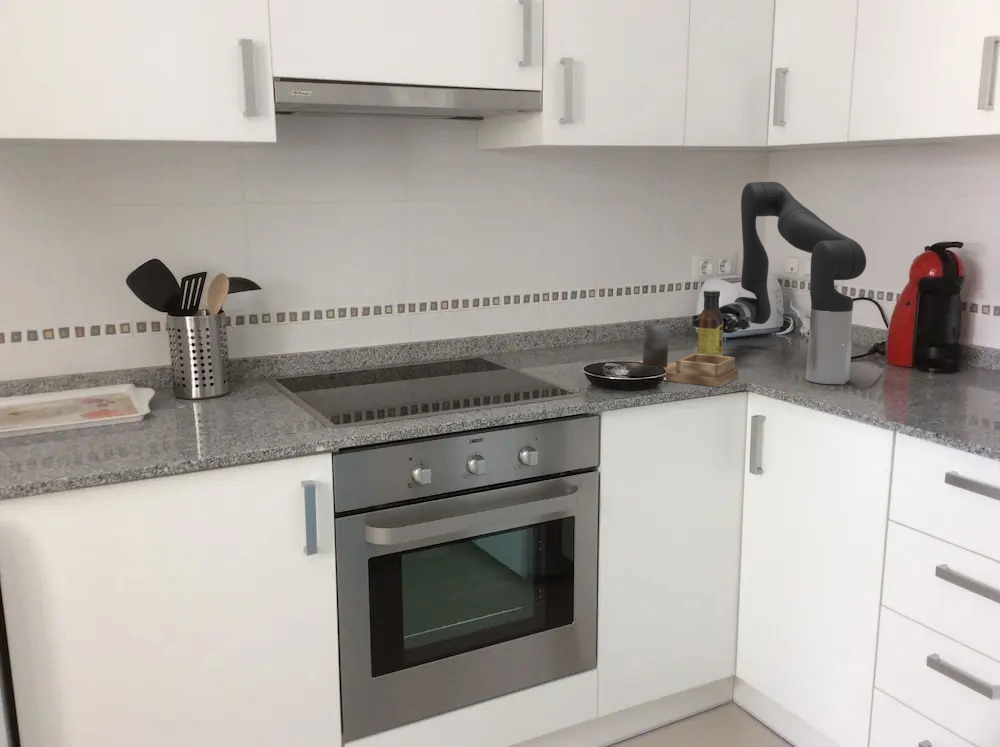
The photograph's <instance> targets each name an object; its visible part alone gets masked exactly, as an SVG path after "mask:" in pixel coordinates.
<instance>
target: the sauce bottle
mask: <svg viewBox="0 0 1000 747" xmlns="http://www.w3.org/2000/svg"><path fill="white" fill-rule="evenodd" d="M720 296H721V290H717V289H708V290H707V289H706V290H705V289H704V290H703V309H702V312H701V313H699V314H700V316H699V327H698V328H697V347H696V348H697V351H696V354H706V355H716V356H723V346H724V345H723V344H724V343H723V342H724V332H723V319H722V315H721V312H720V309H719V308H720Z"/></svg>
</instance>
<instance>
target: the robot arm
mask: <svg viewBox="0 0 1000 747" xmlns="http://www.w3.org/2000/svg"><path fill="white" fill-rule="evenodd" d="M740 212H741V214H740V215H741V232H742V235H741V236H742V251H743V252H742V255H743V257H742V267H741V268H742V269H741V281H740V285H741V288H742V289H743V290H745V291H748V292H750V293H752V294H753V295H754V296H755V298H754V297H747V296H739V297H737V298H736V299H735V300H734V302H730V303H727V304H724V305H722V306H719V309H720V312H721V315H722V319H723V334H724V333H725V334H733V333H735V332H737V331H739V330H741V331H745V330H747V329H749V328H751V324H757V325H764V324H766V323H767V322H768V321H769V319H770V317H771V314H772V313H771V312H772V308H771V302H770V298H769V292H768V278H769V277H768V275H769V266H770V265H769V264H770V263H769V262H770V261H769V256H768V253H767V251H766V249H765V247H764V245H763V243H762V241H761V239H760V237H759V234H758V230H757V218H758V217H777V218H778V220H777V224H776V225H777V230H778V233H779V234H780V236H781V237H782V238H783V240H785V241H786V242H787V243H789V244H790V245H791V246H792V247H794V248H796V249H798V250H800V251H803V252H806V253H809V254H811V256H810V277H809V278H810V281H809V282H810V284H809V286H810V287H809V295H810V301H811V302H810V316H809V317H810V318H809V319H810V320H809V330H808V333H809V334H808V344H807V345H808V346H807V359H806V371H805V374H806V375H805V380H806V381H808V382H811V383H814V384H815V383H816V384H822V385H845V384H846V383H848V382H849V380H850V371H851V370H850V368H851V359H852V346H853V342H852V340H851V333H852V323H853V322H852V321H853V310H854V309H853V308H854V299H853V298H852V297H851V296H849V295H847V294H843V293H840V292H839V291H838V290H837V289H836V288H835V281H847V280H853V279H857V278H859V277H861V275H862V274H863V272H864V271H865V269H866V267H867V256H866V254H865V253H866V252H865V251H864V249H863V247H862V246H861V245H860V244H859V242H858V241H856V240H854V239H852V238H851V237H848V236H846V235H844V234H842V233H841V232H839V231H838V230H836V229H834V228H833V227H832V226H831V225H829V224H828V223H827V222H825V221H824V220H822V219H821V218H820V217H819V216H818V215H817V214H815V213H814V212H813V211H811V210H810V209H808V208H807V207H806V206H804V205H803V204H802V203H801V202H799V201H798V200H797V199H796V198H795V197H794V195H793V194H792V193H790V192H789V190H788V189H787V188H786V187H785V186H784V185H783V184H782V183H780V182H777V181H755V182H753V181H752V182H748V183H746V184H745V185H744V187H743V189H742V193H741V197H740ZM700 314H701V313H698V314H694V315H692V322H691V323H692V324H691V326H693V327H694V328H697V329H698V327H699V316H700Z"/></svg>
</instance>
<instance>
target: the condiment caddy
mask: <svg viewBox="0 0 1000 747" xmlns="http://www.w3.org/2000/svg"><path fill="white" fill-rule="evenodd" d="M669 327H670V326H669V325H667V324H663V323H648V324H643V342H642V343H643V347H642V359H639V360H637V361H636V362H640V363H643V364H648V365H654V366H658V367H662V368H664V369H665V370H666V380H667V381H666V382H672V383H679V384H681V383H682V384H687V385H688V384H689V385H698V386H704V387H705V386H706V387H715V388H722V387H723V386H726V385H727V384H729V383H732V382H733V381H735V380H736V379H738V378H739V369H738V368H737V369H736V357H734V356H727V355H725V356H724V355H722V356H716V355H706V354H697V352H696V353H695V352H694V353H692V354H689V355H686V356H685V357H682V358H680V359H677V360H676V362H674V361H668V357H669V356H668V355H669V353H668V352H669Z"/></svg>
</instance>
